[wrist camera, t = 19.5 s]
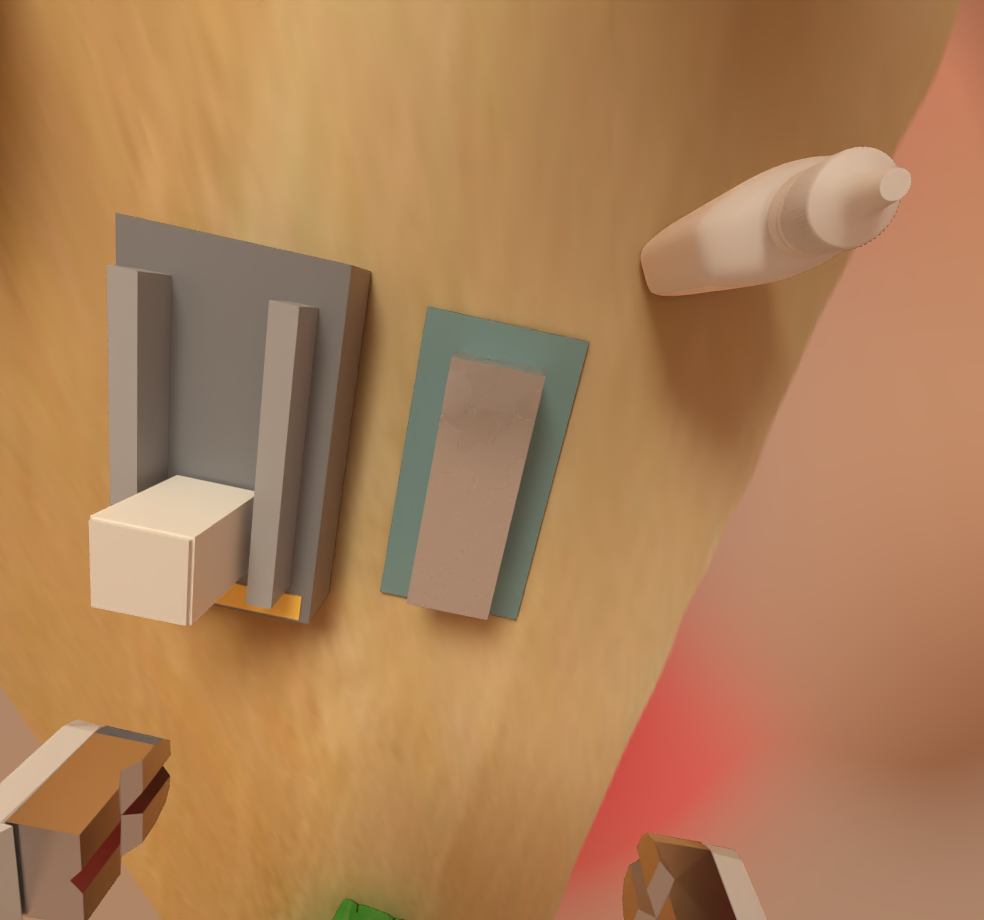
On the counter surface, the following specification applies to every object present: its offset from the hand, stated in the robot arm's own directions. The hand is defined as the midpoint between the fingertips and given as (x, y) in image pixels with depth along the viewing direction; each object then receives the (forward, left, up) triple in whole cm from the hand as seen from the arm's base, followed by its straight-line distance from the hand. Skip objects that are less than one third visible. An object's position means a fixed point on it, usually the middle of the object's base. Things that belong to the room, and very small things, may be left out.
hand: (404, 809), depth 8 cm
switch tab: (+4, -12, -15) cm, 20 cm away
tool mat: (0, 0, -19) cm, 19 cm away
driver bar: (0, 0, -18) cm, 18 cm away
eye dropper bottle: (-13, +8, -19) cm, 24 cm away
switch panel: (0, -12, -19) cm, 22 cm away
